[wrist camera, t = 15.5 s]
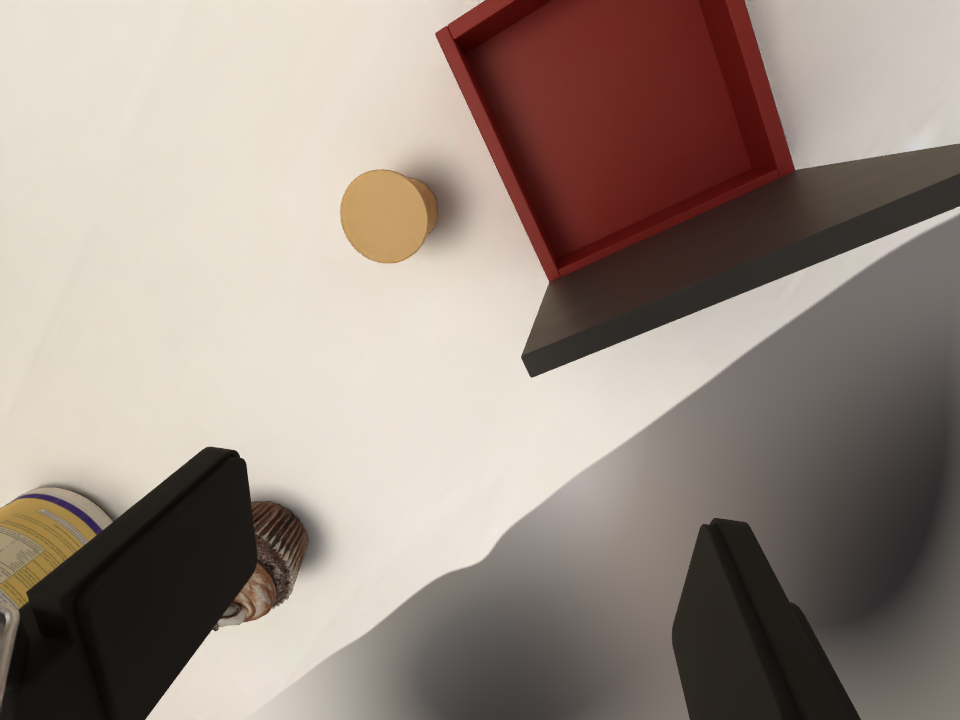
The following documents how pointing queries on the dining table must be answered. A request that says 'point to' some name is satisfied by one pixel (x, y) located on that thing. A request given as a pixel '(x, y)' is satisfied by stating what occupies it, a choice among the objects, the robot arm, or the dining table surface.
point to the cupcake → (269, 564)
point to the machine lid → (739, 249)
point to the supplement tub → (42, 537)
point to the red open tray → (616, 115)
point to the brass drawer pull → (387, 215)
